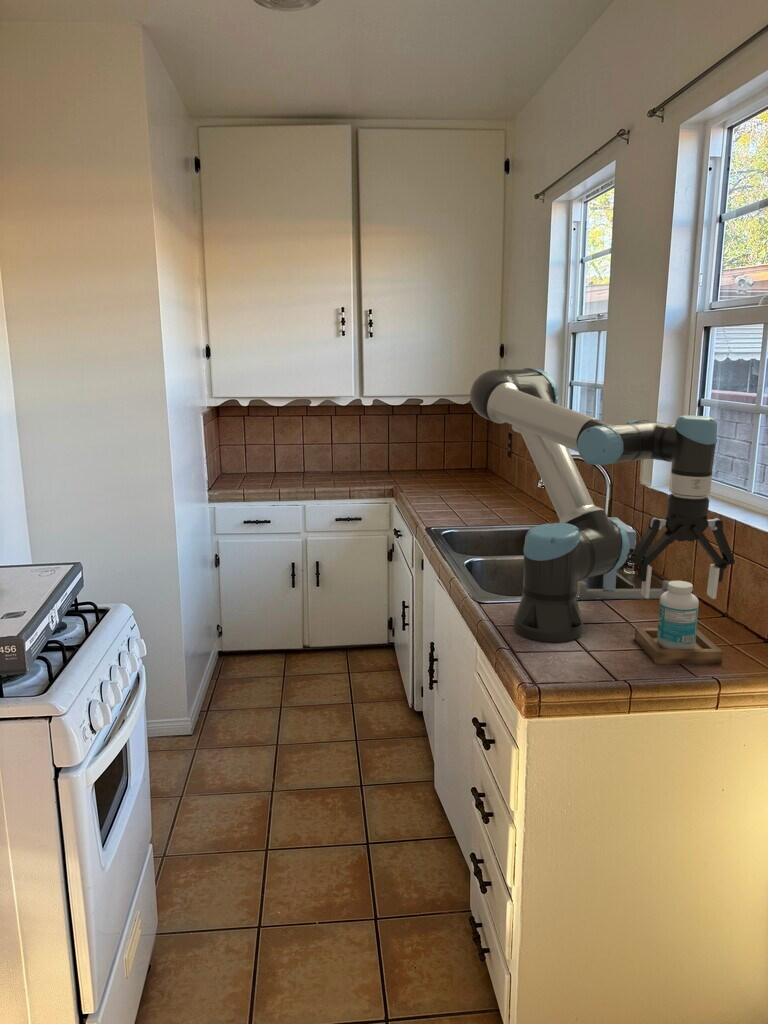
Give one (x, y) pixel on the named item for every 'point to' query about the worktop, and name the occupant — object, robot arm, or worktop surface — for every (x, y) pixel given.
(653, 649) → the open box
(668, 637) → the pill bottle
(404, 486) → the worktop surface
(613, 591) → the gate rail
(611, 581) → the bar
